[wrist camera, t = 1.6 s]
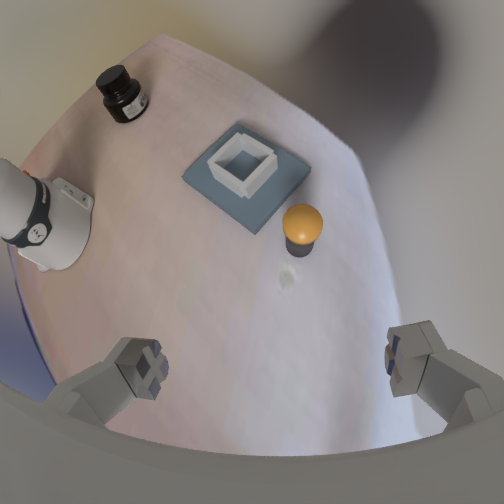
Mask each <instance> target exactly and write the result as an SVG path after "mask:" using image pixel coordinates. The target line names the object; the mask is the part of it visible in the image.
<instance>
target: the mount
mask: <svg viewBox="0 0 504 504" xmlns="http://www.w3.org/2000/svg"><path fill="white" fill-rule="evenodd" d="M310 172H311V167H310V166H308V165H307V164H305V163H304V162H302V161H301V160H299V159H297V158H296V157H294V156H293V155H291V154H289V153H288V152H286V151H284V150H283V149H281V148H279V147H278V146H276V145H274V144H273V143H271V142H269V141H268V140H266V139H264V138H262V137H261V136H259V135H257V134H255V133H254V132H252V131H250V130H248V129H246V128H245V127H243V126H241V125H239V124H236V125H234V126H233V127H232V128H231V129H230V130H229V131H228V132H227V133H226V134H224V135H223V136H222V137H221V138H220V139H219V140H218V141H217V142H216V143H215V144H214V145H213V146H212V147H211V148H210V149H208V150H207V151H206V152H205V153H204V154H203V155H202V156H201V157H200V158H199V159H198V160H197V161H196V162H195V163H194V164H193V165H192V166H191V167H190V168H189V169H188V170H187V171H186V172H185V173H184V174H183V175H182V176H181V177H182V178H183V180H184V181H185V182H186V183H188V184H189V185H190V186H192V187H193V188H194V189H196V190H197V191H198V192H200V193H201V194H202V195H204V196H205V197H206V198H208V199H209V200H210V201H211V202H213V203H214V204H215V205H217V206H218V207H219V208H221V209H222V210H223V211H225V212H226V213H227V214H229V215H230V216H231V217H232V218H234V219H235V220H236V221H238V222H239V223H240V224H242V225H243V226H244V227H245V228H247V229H248V230H249V231H251V232H252V233H253V234H255V235H256V234H257V232H258V231H259V230H260V229H261V228H262V227H263V226H264V224H265V223H266V222H267V221H268V220H269V219H270V218H271V216H272V215H273V214H274V213H275V212H276V211H277V210H278V208H279V207H280V206H281V205H282V204H283V203H284V202H285V200H286V199H287V198H288V197H289V196H290V195H291V194H292V192H293V191H294V190H295V189H296V188H297V187H298V186H299V185H300V183H301V182H302V181H303V180H304V179H305V178H306V177H307V175H308V174H309V173H310Z"/></svg>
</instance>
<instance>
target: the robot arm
mask: <svg viewBox="0 0 504 504" xmlns="http://www.w3.org/2000/svg"><path fill="white" fill-rule="evenodd" d="M93 204H94V199H93V198H92V197H91V196H89V195H88V194H86V193H85V192H83V191H81V190H80V189H78V188H77V187H75V186H74V185H72V184H70V183H69V182H67V181H66V180H64V179H63V178H61V177H59V178H57V179H55V180H54V181H53V182H50V181H49V180H48V179H46V178H42V179H38V178H35V177H32V176H30V174H29V173H28V172H27V171H25V170H23V171H21V170H20V169H19V168H17V167H16V166H15V165H13V164H12V163H11V162H10V161H8V160H6V159H2V158H0V237H1V238H2V239H3V240H4V241H5V242H7V243H8V244H9V245H11V246H15V247H17V249H18V251H19V254H20V255H22V256H23V257H25V258H27V259H29V260H31V261H33V262H35V263H36V264H37V267H38V269H39V270H40V271H42V272H44V271H47V270H49V269H54V270H62V269H65V268H67V267H69V266H70V265H72V264H73V263H74V262H75V261H76V260H77V259H78V257H79V256H80V255H81V253H82V251H83V250H84V248H85V245H86V243H87V240H88V237H89V232H90V215H91V211H92V207H93ZM387 339H388V342H389V344H388V345H387V346H386V347H385V368H386V372H387V374H389V375H390V376H391V379H390V386H391V390H392V394H393V397H399V396H405V395H410V394H416V393H417V395H418V396H419V397H420V398H421V399H422V400H423V401H424V402H426V403H427V404H428V405H429V406H430V407H431V408H432V409H433V410H434V411H435V412H437V413H438V414H439V415H440V416H441V417H442V418H443V419H444V420H445V421H446V422H447V423H448V424H447V426H446V428H445V429H444V431H443V433H440V434H437V435H434V436H430V437H426V438H422V439H419V440H415V441H410V442H406V443H402V444H397V445H392V446H387V447H382V448H376V449H370V450H363V451H356V452H348V453H339V454H328V455H313V456H251V455H236V454H225V453H215V452H207V451H200V450H193V449H187V448H181V447H175V446H170V445H165V444H161V443H156V442H152V441H147V440H143V439H139V438H135V437H132V436H128V435H124V434H121V433H118V432H114V431H111V430H109V429H108V428H107V427H106V426H105V425H104V424H105V423H107V422H108V421H109V420H110V419H112V418H113V417H114V416H116V415H117V414H118V413H119V412H121V411H122V410H123V409H124V408H126V407H127V406H128V405H129V404H131V403H132V402H133V401H134V400H136V399H137V398H142V399H150V400H155V399H156V397H157V395H158V393H159V391H160V389H161V386H160V383H161V382H162V381H164V380H165V379H166V377H167V375H168V370H169V365H168V361H167V358H166V356H165V355H163V354H162V353H161V352H160V351H161V348H162V347H161V345H160V343H159V341H158V340H155V339H145V338H131V337H123V338H121V339H120V341H119V342H118V343H117V344H116V346H115V347H114V348H113V350H112V351H111V352H110V353H109V355H108V356H107V357H106V359H105V360H104V361H103V362H98V363H97V364H95V365H93V366H91V367H89V368H87V369H85V370H84V371H82V372H80V373H78V374H76V375H74V376H72V377H70V378H69V379H67V380H65V381H63V382H61V383H59V384H57V385H56V386H55V388H54V389H53V390H52V392H51V393H50V394H49V395H48V397H47V398H46V399H45V401H44V402H43V403H40V402H38V401H36V400H34V399H32V398H30V397H28V396H26V395H24V394H22V393H20V392H19V391H17V390H15V389H13V388H11V387H10V386H8V385H6V384H5V383H3V382H1V381H0V504H504V380H503V379H502V377H501V376H499V375H497V374H495V373H493V372H492V371H490V370H488V369H486V368H484V367H483V366H481V365H479V364H477V363H475V362H474V361H472V360H470V359H468V358H466V357H465V356H463V355H461V354H459V353H457V352H456V351H454V350H452V349H451V350H448V349H447V348H446V346H445V344H444V342H443V341H442V339H441V337H440V335H439V334H438V332H437V330H436V329H435V327H434V325H433V324H432V322H431V321H430V320H428V321H423V322H418V323H415V324H409V325H403V326H397V327H391V328H389V330H388V333H387Z"/></svg>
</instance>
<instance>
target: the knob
mask: <svg viewBox="0 0 504 504" xmlns="http://www.w3.org/2000/svg"><path fill="white" fill-rule="evenodd" d="M322 227H323V220H322V217H321V215H320V213H319V212H318V211H317V210H316V209H315V208H314V207H312V206H309V205H306V204H299V205H295V206H293V207H291V208H290V209H288V210H287V212H286V213H285V215H284V217H283V231H284V233H285V235H286V248H287V250H288V252H289V253H290V254H291V255H293V256H295V257H304V256H307V255H308V254H309V253H310V252H311V250H312V248H313V245H314V242H315V240H316V239H317V238H318V237H319V236H320V234H321V231H322Z"/></svg>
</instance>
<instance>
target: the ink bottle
mask: <svg viewBox="0 0 504 504" xmlns="http://www.w3.org/2000/svg"><path fill="white" fill-rule="evenodd" d="M96 86H97V87H98V89H99V90H100V91H101V93H102V94H103V96H104V99H103V104H104V106H105V107H106V109H107V110H108V111H109V113H110V114H111V115H112V117H113V118H114V119H115V121H116V122H118V123H128V122H131V121H133V120H135V119H137V118H138V117H139V116H141V115H142V114H143V112H144V111H145V110H146V108H147V106H148V98H147V96H146V94H145V93H144V91H143V89H142V87H141V85H140V84H139V82H138V81H137V80H136V79H131V78H130V76H129V74H128V72H127V71H126V69H125V67H124V66H123V65H116V66H113V67H111V68H109V69H107V70H106V71H105V72H103V73H102V74H101V75H100V76H99V77H98V79H97V80H96Z"/></svg>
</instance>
